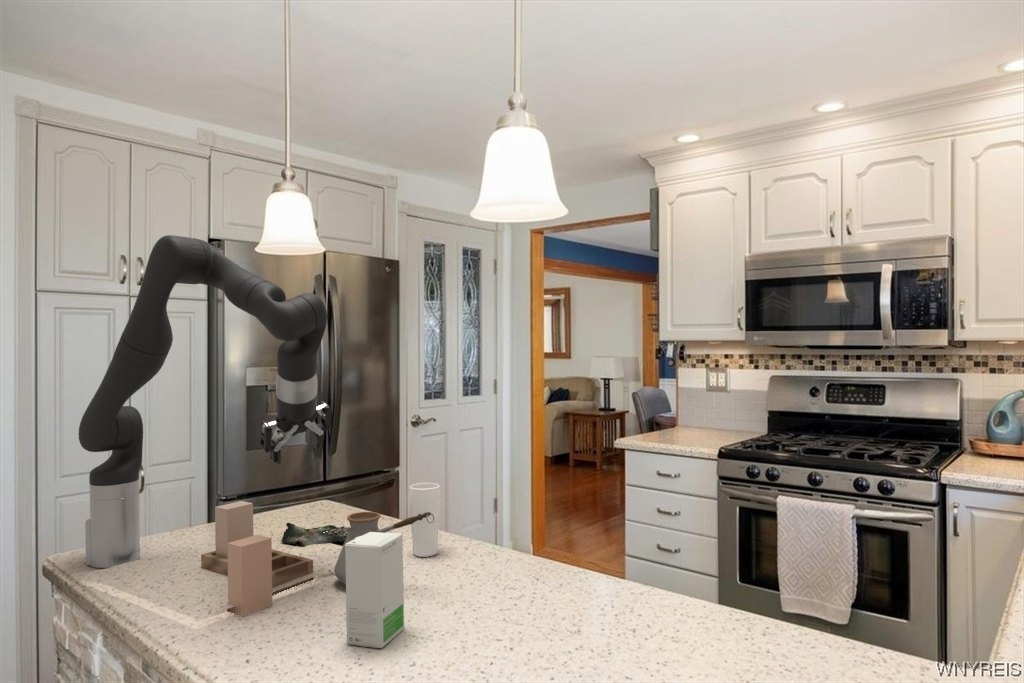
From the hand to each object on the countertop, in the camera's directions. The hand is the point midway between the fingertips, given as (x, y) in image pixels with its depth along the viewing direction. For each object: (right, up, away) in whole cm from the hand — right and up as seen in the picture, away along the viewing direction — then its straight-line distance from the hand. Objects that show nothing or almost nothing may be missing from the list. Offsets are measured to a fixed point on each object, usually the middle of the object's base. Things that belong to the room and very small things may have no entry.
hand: (296, 454), depth 138 cm
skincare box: (+22, -24, -31) cm, 45 cm away
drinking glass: (+25, -24, +10) cm, 36 cm away
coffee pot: (+20, -24, -9) cm, 32 cm away
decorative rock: (0, -25, +21) cm, 32 cm away
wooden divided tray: (-7, -24, -3) cm, 25 cm away
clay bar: (-2, -24, -19) cm, 31 cm away
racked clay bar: (-13, -23, 0) cm, 26 cm away
